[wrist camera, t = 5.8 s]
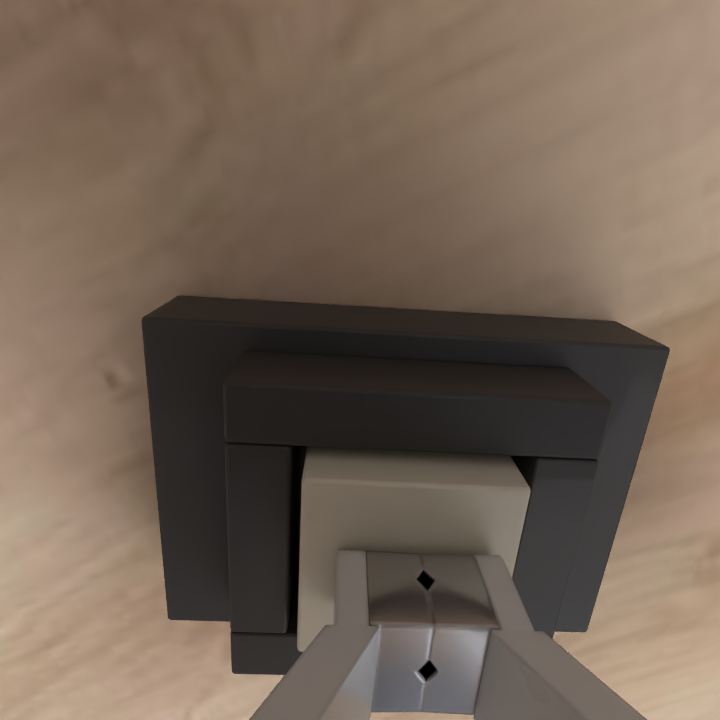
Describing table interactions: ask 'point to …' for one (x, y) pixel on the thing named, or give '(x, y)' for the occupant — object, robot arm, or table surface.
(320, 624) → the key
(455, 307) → the table surface
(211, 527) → the tiered dark block
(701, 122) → the table surface
